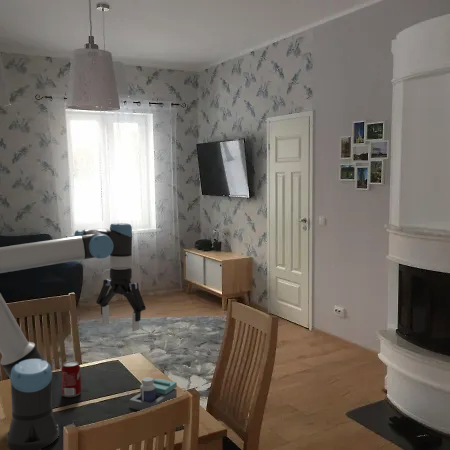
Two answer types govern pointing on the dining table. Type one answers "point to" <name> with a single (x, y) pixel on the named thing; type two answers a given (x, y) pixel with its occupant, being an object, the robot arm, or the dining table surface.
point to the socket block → (139, 405)
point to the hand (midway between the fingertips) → (120, 327)
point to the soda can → (71, 379)
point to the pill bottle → (148, 390)
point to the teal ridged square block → (164, 385)
